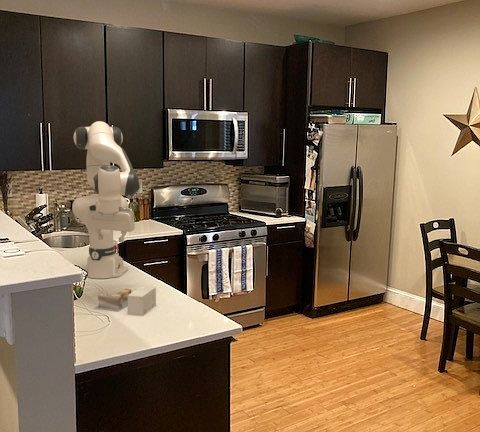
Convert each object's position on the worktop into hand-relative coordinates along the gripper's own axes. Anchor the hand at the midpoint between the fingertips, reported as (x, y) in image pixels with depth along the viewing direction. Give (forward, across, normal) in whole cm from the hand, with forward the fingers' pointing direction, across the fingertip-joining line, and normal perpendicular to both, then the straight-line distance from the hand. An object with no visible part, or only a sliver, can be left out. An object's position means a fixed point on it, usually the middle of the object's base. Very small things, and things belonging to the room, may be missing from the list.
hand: (110, 240), depth 210 cm
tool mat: (+26, -4, +1) cm, 26 cm away
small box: (+22, -16, -1) cm, 27 cm away
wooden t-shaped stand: (+25, -4, +2) cm, 25 cm away
